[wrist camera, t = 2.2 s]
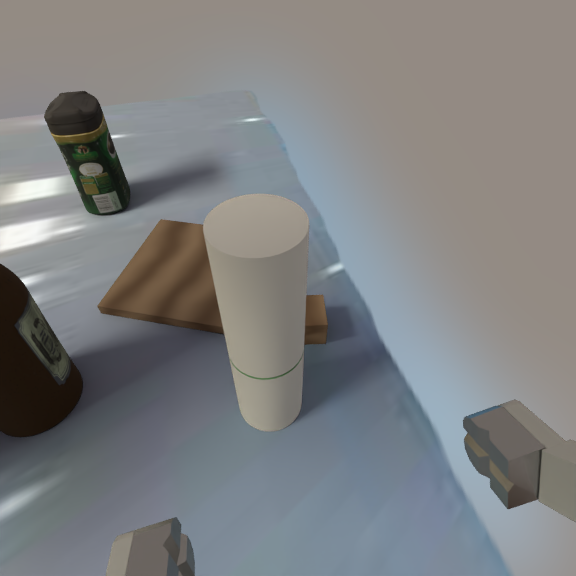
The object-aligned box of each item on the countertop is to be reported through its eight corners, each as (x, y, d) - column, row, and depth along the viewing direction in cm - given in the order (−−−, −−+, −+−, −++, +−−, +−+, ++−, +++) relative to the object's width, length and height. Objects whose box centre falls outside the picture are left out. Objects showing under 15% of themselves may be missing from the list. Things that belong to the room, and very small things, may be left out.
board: (101, 313, 53) (97, 306, 52) (162, 226, 67) (160, 219, 66) (240, 336, 50) (239, 329, 49) (275, 241, 64) (275, 233, 63)
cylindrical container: (297, 371, 47) (302, 191, 29) (305, 428, 42) (316, 254, 24) (238, 376, 46) (205, 196, 28) (239, 434, 41) (200, 262, 23)
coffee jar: (90, 191, 75) (46, 89, 61) (132, 185, 76) (98, 84, 63) (83, 220, 68) (33, 113, 55) (130, 213, 70) (92, 107, 56)
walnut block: (286, 346, 50) (286, 326, 47) (285, 316, 53) (284, 296, 50) (325, 344, 50) (327, 324, 47) (321, 314, 53) (322, 294, 50)
